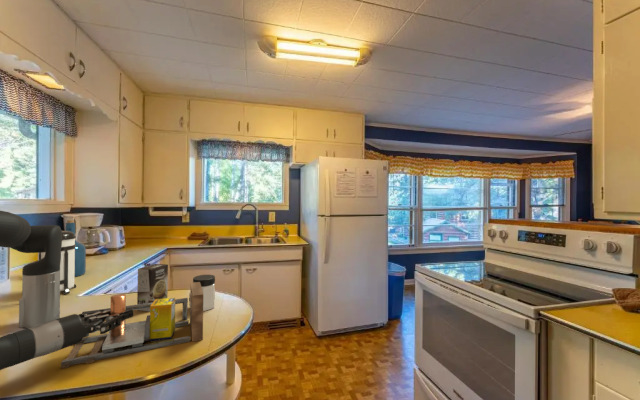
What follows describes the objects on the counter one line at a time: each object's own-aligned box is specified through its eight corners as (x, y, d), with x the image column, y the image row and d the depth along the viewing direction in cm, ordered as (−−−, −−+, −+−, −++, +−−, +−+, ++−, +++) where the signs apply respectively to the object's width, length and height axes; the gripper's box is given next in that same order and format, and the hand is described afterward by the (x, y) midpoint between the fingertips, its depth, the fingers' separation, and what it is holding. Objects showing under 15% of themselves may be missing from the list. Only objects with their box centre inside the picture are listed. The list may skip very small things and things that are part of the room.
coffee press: (22, 296, 121) (22, 226, 121) (66, 285, 136) (67, 223, 136) (44, 302, 115) (45, 228, 114) (89, 290, 130) (89, 225, 129)
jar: (214, 310, 109) (215, 279, 109) (191, 313, 107) (192, 281, 106) (214, 302, 118) (215, 273, 118) (193, 304, 115) (193, 275, 115)
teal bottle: (89, 274, 155) (90, 220, 155) (58, 280, 144) (58, 221, 143) (80, 270, 162) (80, 218, 162) (49, 276, 151) (49, 220, 151)
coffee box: (150, 312, 107) (151, 269, 107) (136, 310, 108) (136, 268, 108) (168, 303, 116) (168, 264, 116) (154, 301, 117) (155, 263, 117)
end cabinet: (189, 342, 85) (190, 296, 85) (187, 323, 98) (188, 283, 98) (202, 339, 87) (203, 294, 87) (199, 321, 99) (199, 281, 99)
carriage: (102, 353, 76) (102, 305, 76) (111, 332, 88) (112, 290, 88) (148, 344, 81) (148, 299, 81) (151, 325, 93) (152, 286, 92)
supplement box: (154, 332, 91) (155, 298, 91) (175, 330, 92) (175, 297, 92) (149, 342, 85) (149, 305, 85) (171, 339, 87) (171, 304, 87)
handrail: (81, 337, 87) (81, 312, 87) (83, 335, 89) (83, 311, 88) (187, 319, 101) (187, 298, 101) (187, 318, 102) (187, 297, 102)
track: (59, 369, 71) (59, 364, 71) (78, 341, 85) (78, 337, 85) (190, 342, 85) (190, 338, 85) (188, 322, 98) (188, 319, 98)
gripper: (68, 326, 67) (142, 303, 82) (42, 314, 74) (115, 294, 89) (68, 358, 67) (142, 329, 82) (42, 343, 74) (115, 318, 89)
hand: (128, 311), depth 85 cm, fingers closed on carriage, 3 cm apart
